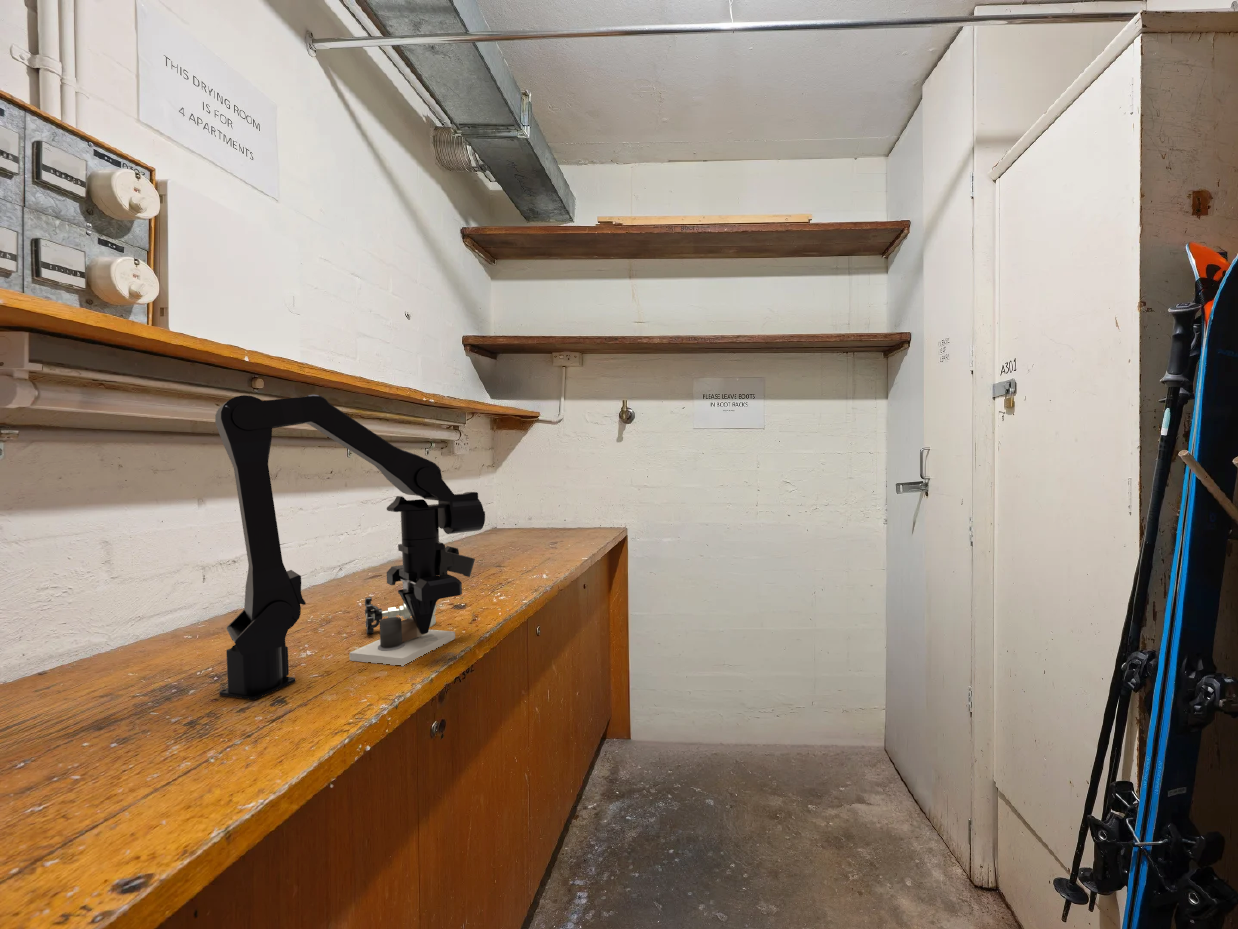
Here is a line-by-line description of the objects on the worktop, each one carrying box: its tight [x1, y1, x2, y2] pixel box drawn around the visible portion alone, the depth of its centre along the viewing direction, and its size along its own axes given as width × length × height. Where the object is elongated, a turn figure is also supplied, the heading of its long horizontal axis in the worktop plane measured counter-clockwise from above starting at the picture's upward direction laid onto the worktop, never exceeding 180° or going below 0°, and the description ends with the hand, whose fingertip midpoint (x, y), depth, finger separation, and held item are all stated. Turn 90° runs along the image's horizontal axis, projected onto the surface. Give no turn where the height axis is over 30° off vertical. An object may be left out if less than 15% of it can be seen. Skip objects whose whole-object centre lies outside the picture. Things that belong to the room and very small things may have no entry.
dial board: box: [348, 628, 456, 667], centre depth 92 cm, size 13×10×1 cm
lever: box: [379, 616, 424, 647], centre depth 91 cm, size 7×3×4 cm, turn 150°
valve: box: [364, 596, 437, 636], centre depth 103 cm, size 7×7×12 cm
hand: (424, 633), depth 92 cm, fingers closed
